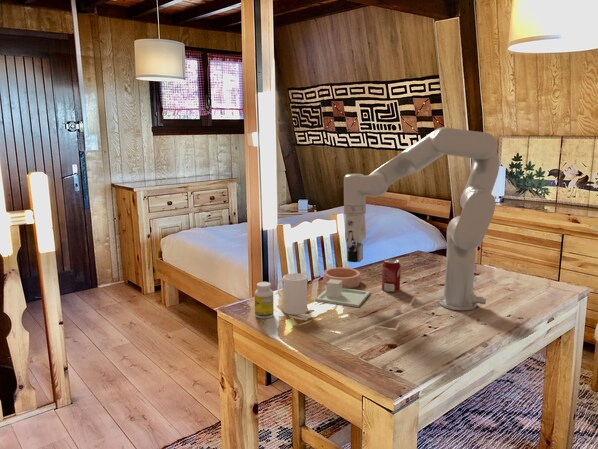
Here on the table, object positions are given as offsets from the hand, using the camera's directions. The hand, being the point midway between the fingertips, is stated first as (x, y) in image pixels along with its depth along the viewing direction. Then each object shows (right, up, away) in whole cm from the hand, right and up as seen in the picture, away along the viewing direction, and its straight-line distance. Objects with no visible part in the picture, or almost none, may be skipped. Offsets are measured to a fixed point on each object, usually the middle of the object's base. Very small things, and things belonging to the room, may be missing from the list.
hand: (355, 259), depth 176 cm
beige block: (-7, -14, +6) cm, 17 cm away
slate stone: (0, 0, 0) cm, 0 cm away
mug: (-22, -17, -6) cm, 29 cm away
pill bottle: (-32, -18, -12) cm, 38 cm away
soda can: (+15, -13, +13) cm, 24 cm away
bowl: (-3, -11, +21) cm, 24 cm away
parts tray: (-4, -15, +4) cm, 16 cm away
